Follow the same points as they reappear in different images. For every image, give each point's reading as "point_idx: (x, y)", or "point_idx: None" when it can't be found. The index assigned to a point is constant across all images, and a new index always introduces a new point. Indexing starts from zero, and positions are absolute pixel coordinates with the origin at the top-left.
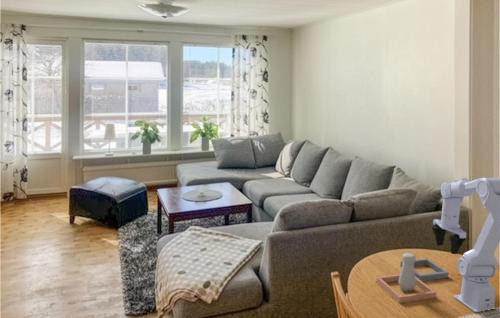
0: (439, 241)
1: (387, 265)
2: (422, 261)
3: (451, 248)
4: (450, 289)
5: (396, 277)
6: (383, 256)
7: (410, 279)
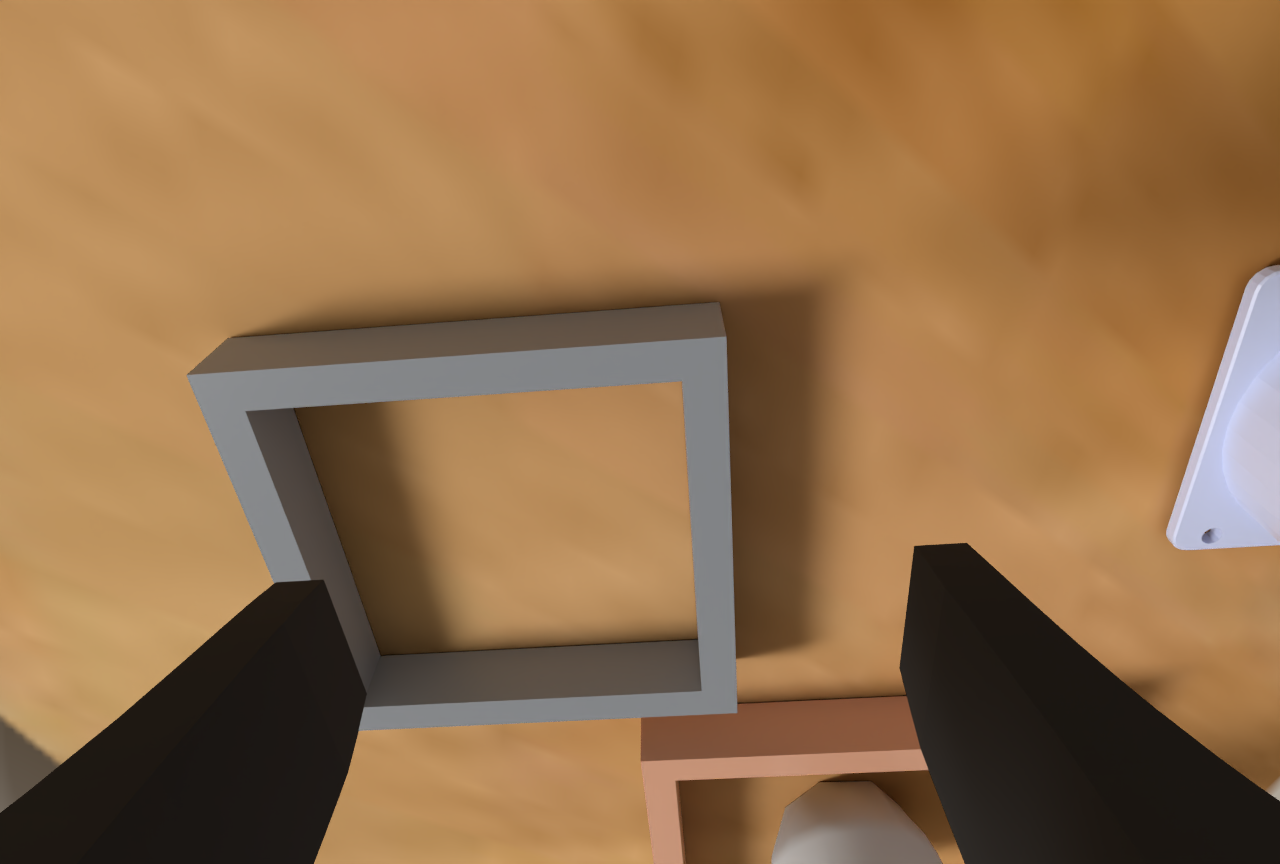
0: (304, 774)
1: None
2: (278, 464)
3: (978, 843)
4: (1007, 466)
5: (683, 861)
6: (98, 723)
7: None
